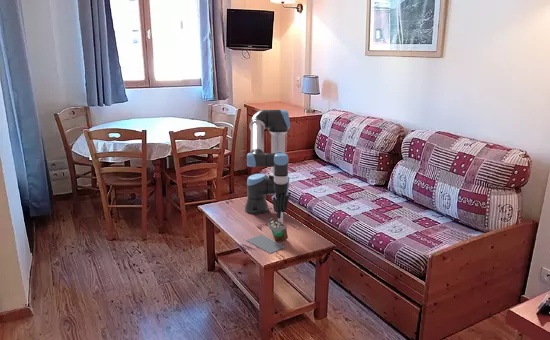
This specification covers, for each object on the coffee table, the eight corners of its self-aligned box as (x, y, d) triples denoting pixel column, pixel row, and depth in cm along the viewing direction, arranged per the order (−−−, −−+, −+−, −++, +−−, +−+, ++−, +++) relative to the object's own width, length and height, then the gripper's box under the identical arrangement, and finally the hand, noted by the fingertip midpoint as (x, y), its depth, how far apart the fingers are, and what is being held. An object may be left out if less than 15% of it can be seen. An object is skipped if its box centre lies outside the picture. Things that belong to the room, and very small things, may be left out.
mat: (261, 235, 247) (261, 234, 246) (285, 247, 232) (285, 246, 232) (246, 240, 239) (246, 240, 239) (270, 253, 225) (270, 253, 225)
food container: (267, 237, 245) (263, 223, 240) (275, 231, 248) (271, 217, 243) (281, 245, 236) (277, 230, 231) (289, 239, 239) (286, 224, 234)
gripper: (284, 178, 240) (284, 218, 246) (267, 183, 231) (267, 224, 238) (294, 181, 234) (293, 221, 241) (276, 186, 226) (276, 228, 233)
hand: (280, 222), depth 240 cm, fingers closed
